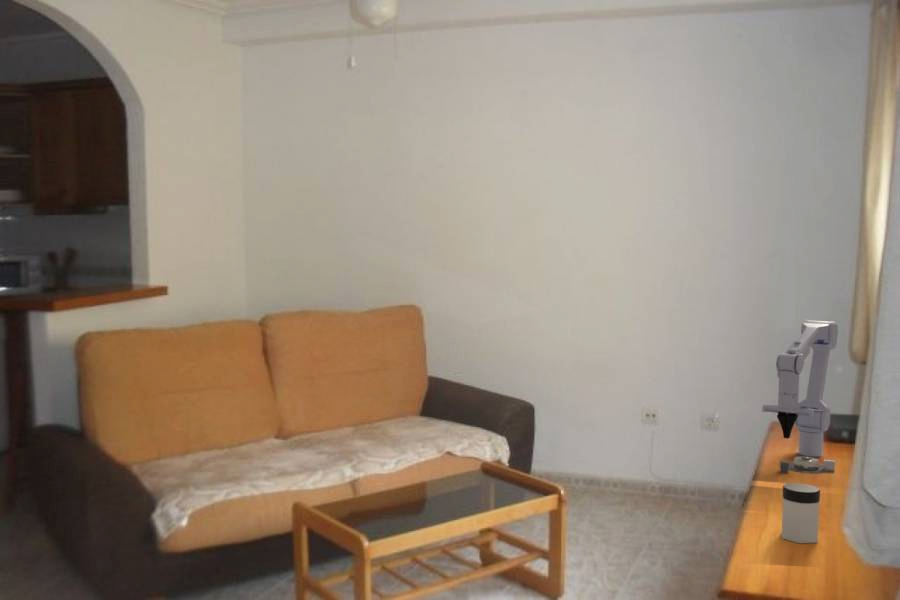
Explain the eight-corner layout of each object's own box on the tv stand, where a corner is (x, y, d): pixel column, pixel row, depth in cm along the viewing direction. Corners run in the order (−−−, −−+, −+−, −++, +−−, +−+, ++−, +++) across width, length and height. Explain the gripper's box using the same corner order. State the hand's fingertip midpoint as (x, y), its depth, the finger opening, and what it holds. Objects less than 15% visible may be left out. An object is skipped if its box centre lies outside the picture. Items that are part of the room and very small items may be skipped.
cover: (793, 464, 278) (794, 453, 278) (818, 466, 276) (818, 456, 276) (793, 469, 272) (793, 458, 272) (818, 471, 269) (819, 461, 269)
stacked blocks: (779, 474, 271) (780, 460, 270) (788, 475, 270) (789, 461, 270) (779, 477, 268) (780, 462, 268) (788, 478, 267) (789, 463, 267)
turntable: (782, 463, 282) (782, 451, 282) (832, 468, 277) (833, 456, 277) (782, 473, 270) (782, 461, 270) (835, 478, 265) (836, 466, 265)
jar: (826, 539, 213) (828, 488, 212) (808, 546, 208) (810, 494, 207) (791, 529, 220) (793, 480, 219) (772, 536, 215) (774, 486, 214)
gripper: (760, 392, 276) (758, 436, 277) (810, 397, 268) (809, 443, 269) (766, 389, 282) (764, 432, 283) (816, 394, 274) (814, 439, 275)
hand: (786, 437), depth 276 cm, fingers closed
